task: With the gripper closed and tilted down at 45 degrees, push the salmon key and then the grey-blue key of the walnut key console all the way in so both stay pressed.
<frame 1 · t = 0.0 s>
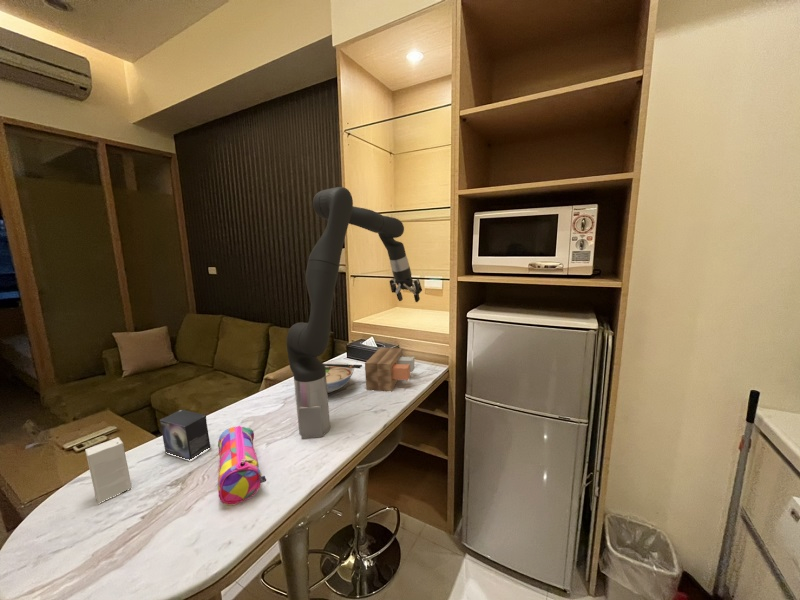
hand: (409, 300, 138), 31 cm above the table, tool tilted 20°, fingers open, 8 cm apart
pencil case: (241, 477, 77), on the table
small box: (188, 452, 88), on the table
console: (385, 380, 131), on the table
skincare box: (113, 493, 73), on the table
grey key: (405, 363, 133), point 6 cm above the table, slide at 0.0 cm
salmon key: (400, 371, 124), point 6 cm above the table, slide at 0.0 cm
ramen bowl: (326, 390, 125), on the table
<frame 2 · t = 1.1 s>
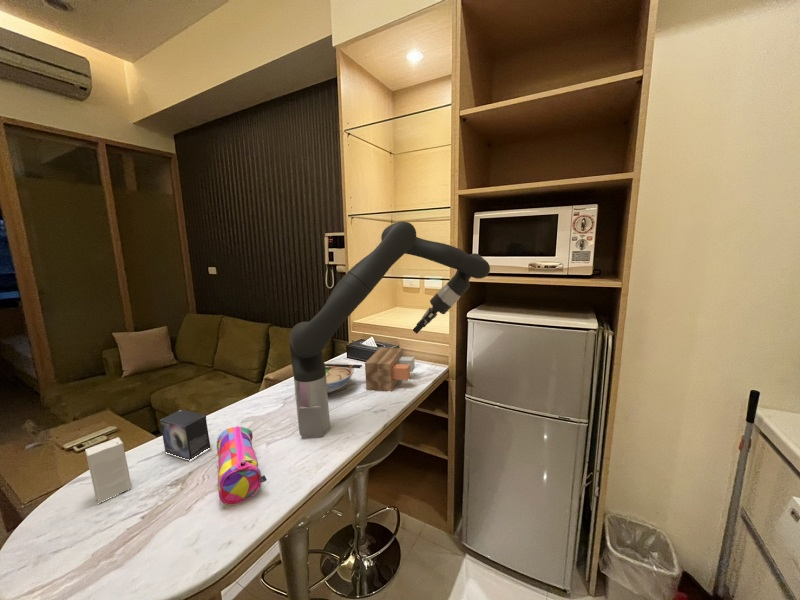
hand: (416, 329, 121), 23 cm above the table, tool tilted 45°, fingers open, 8 cm apart
nothing on the table moved.
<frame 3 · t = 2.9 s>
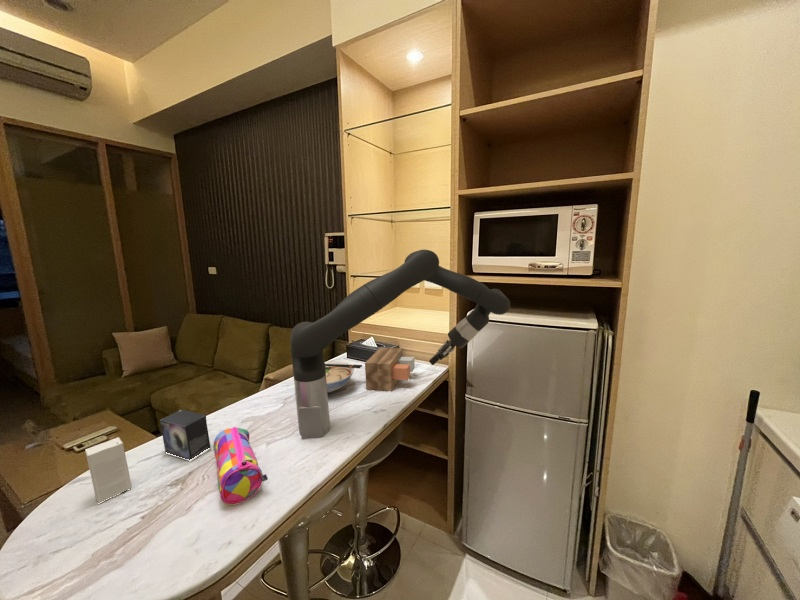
hand: (431, 362, 120), 10 cm above the table, tool tilted 45°, fingers closed
nothing on the table moved.
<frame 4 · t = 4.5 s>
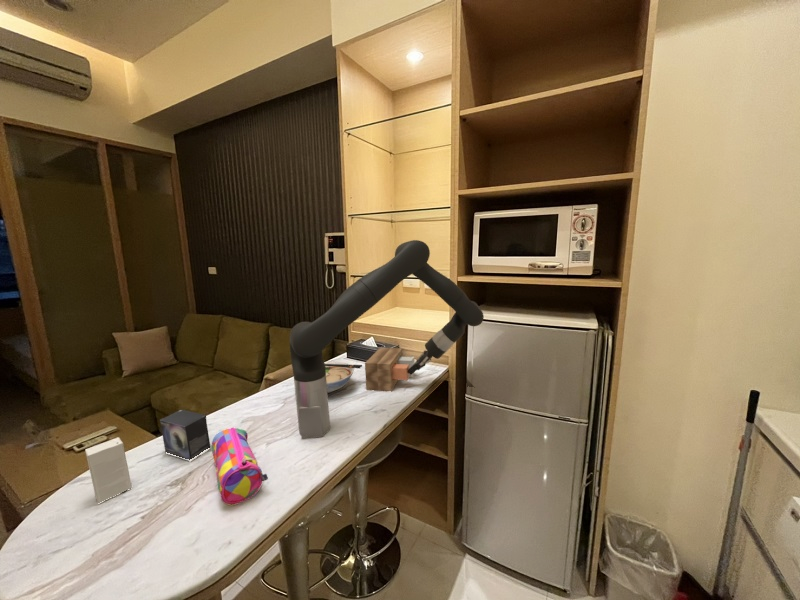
hand: (409, 372, 123), 6 cm above the table, tool tilted 45°, fingers closed
salmon key: (399, 371, 124), point 6 cm above the table, slide at 0.3 cm, touching gripper
everything else where it was.
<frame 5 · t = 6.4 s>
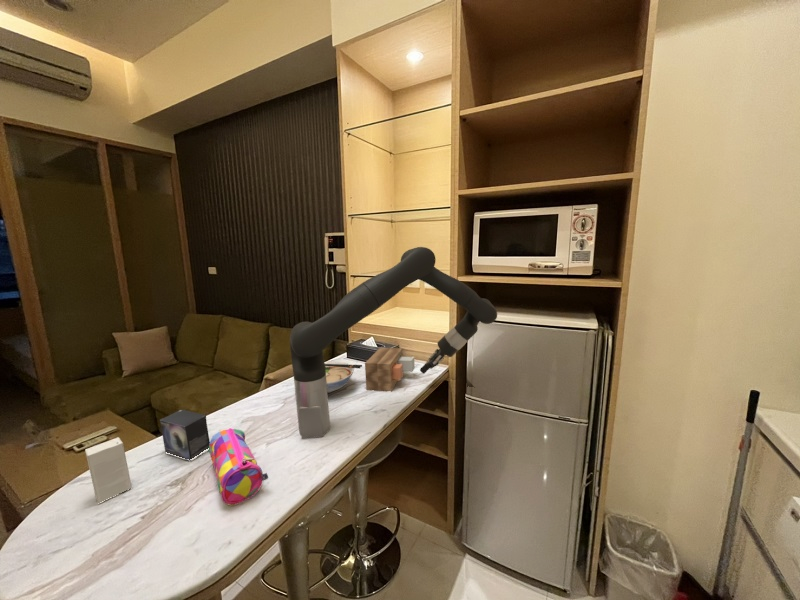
hand: (421, 371, 122), 6 cm above the table, tool tilted 45°, fingers closed
salmon key: (393, 371, 125), point 6 cm above the table, slide at 3.0 cm
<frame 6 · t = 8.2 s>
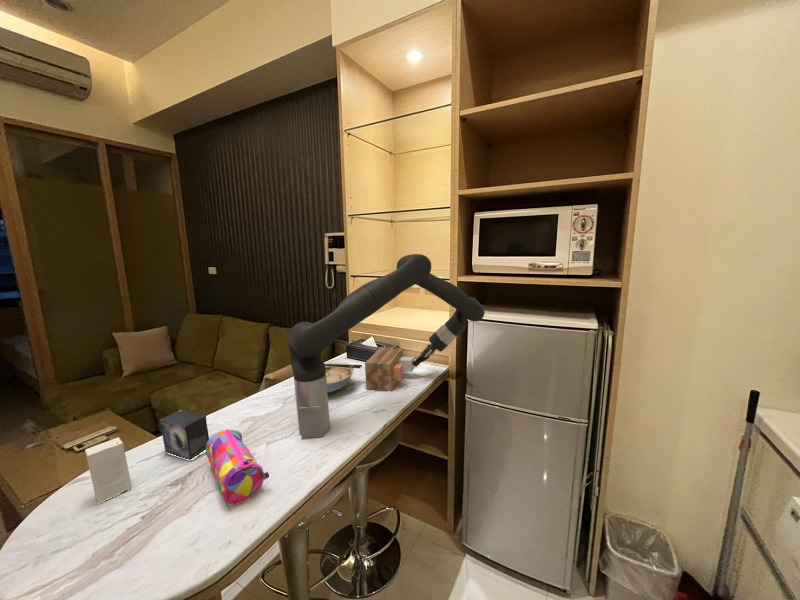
hand: (414, 364, 132), 6 cm above the table, tool tilted 45°, fingers closed
grey key: (405, 363, 133), point 6 cm above the table, slide at 0.1 cm, touching gripper
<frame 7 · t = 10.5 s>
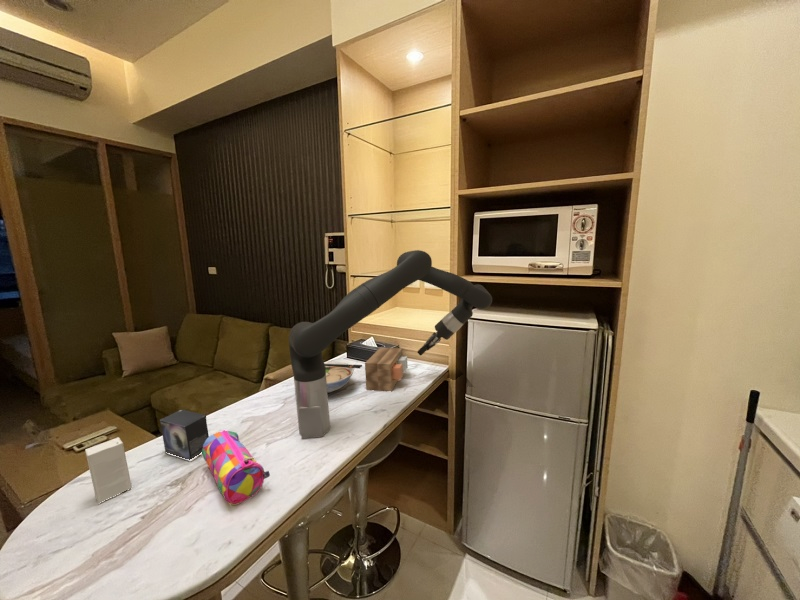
hand: (419, 353, 129), 11 cm above the table, tool tilted 45°, fingers closed
grey key: (398, 363, 134), point 6 cm above the table, slide at 3.1 cm
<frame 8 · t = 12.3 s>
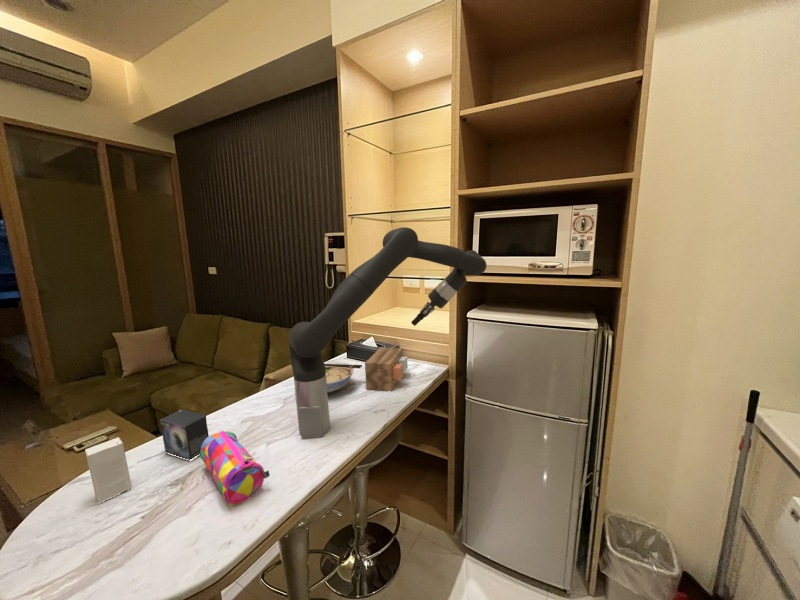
hand: (413, 324, 127), 24 cm above the table, tool tilted 45°, fingers closed
at the end: salmon key slide at 3.0 cm; grey key slide at 3.1 cm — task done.
